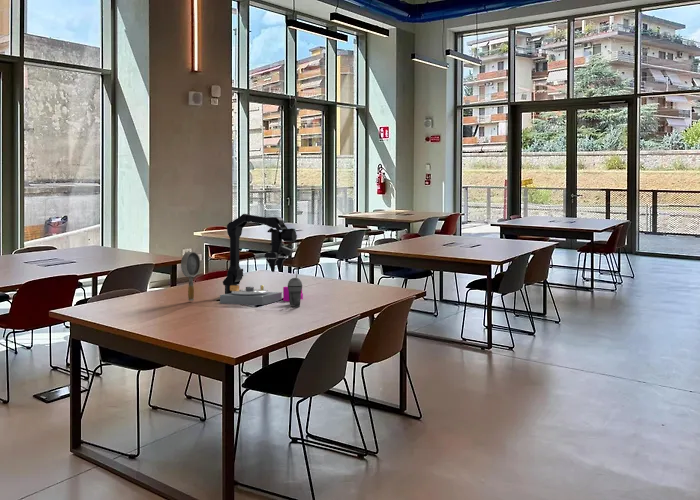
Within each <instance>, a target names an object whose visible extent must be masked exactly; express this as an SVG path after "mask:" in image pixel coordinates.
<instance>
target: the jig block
mask: <svg viewBox="0 0 700 500" xmlns="http://www.w3.org/2000/svg"><path fill="white" fill-rule="evenodd" d="M282 293H283V292H279V291H268V293H267V294H262V295H235V294H232V293H229V294H225V293H223V294H220V295H219V304H227V305H228V304H230V305H231V304H233V305H234V304H235V305H255V306H258V305H259V306H264V305H268V304H272V303H275V302H279V301H282V300H283V299H282V298H283V294H282Z"/></svg>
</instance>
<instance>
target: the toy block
mask: <svg viewBox="0 0 700 500" xmlns="http://www.w3.org/2000/svg"><path fill="white" fill-rule="evenodd" d="M282 290H283V292H282V293H283V294H282V298H283V299H282V300H283V302H289V290H288V286H283V287H282ZM301 300H304V293H303V289H302V290H301Z"/></svg>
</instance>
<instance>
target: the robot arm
mask: <svg viewBox="0 0 700 500" xmlns="http://www.w3.org/2000/svg"><path fill="white" fill-rule="evenodd" d="M248 223H254V224H260V225H265V226H267V227H269V229H268V230H267V231H266V232H267V233H270V243H269V246H270V251H267V252H265V253H264V258H265V260H266V262H267V264H268V265H269V268H270V270H271V272H272V273H274V272H275V270H276V269H277V270H278V272H281V271H282V267H283V265H284V264H283V263H284V261H286V259H287V258H288V257H289V256H290V257H291V256H292V254H293V253H294V249H293V246H290V245H289V246H285V244H284V242H290V243H291V242H293V243H294V242H296V241H297V238H298V234H297V232H296V228H294V227H292V228H288V227H287V225H286V224H285V221H284V219H283V218H282V217H281V216H280V217H279V216H269V217H266V216H259V215H253V214H249V213H242V214H241V215H240V216H239V217H237V218H235V219H233V220H232V221H230V222H228V224H227V225H226V231H227V235H228V238H229V245H230V246H229V268H228V269H227V273H226V277H225V278H224V279H223V280H222V285H223V286H224V294H229V293H232V291H230V285H240V283H241V281H242V280H243V277H244V268H241V266H240V238H241V235H242V233H243V228H245V227H246V226H247V224H248ZM276 266H277V268H276ZM275 268H276V269H275Z"/></svg>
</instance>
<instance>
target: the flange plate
mask: <svg viewBox="0 0 700 500" xmlns="http://www.w3.org/2000/svg"><path fill="white" fill-rule="evenodd" d="M230 291H232V294H235V295H262V294H267V293H268V292H269V291H268V290H266V289H264V290H261V288H260V289H257V288H256V289H255V288H254V286H245V289H240V284H237V285H230Z"/></svg>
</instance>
